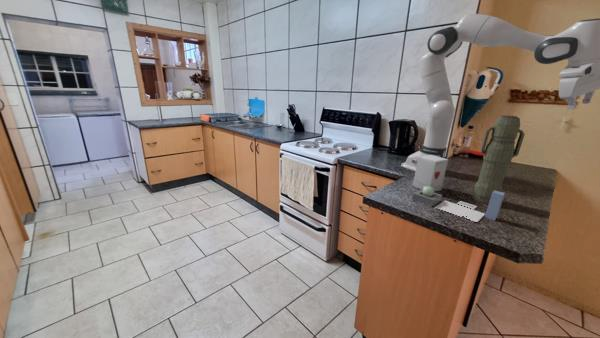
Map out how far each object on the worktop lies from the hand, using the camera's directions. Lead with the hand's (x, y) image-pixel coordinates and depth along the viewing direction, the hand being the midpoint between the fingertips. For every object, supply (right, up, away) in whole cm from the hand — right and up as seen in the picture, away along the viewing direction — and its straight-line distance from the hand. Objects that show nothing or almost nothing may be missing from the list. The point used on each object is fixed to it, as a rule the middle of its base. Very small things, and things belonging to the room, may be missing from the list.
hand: (579, 106), depth 92 cm
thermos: (-29, -38, +10) cm, 48 cm away
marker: (-37, -42, -4) cm, 56 cm away
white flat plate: (-46, -40, 0) cm, 61 cm away
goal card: (-40, -39, +5) cm, 56 cm away
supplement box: (-47, -33, +21) cm, 62 cm away
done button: (-55, -35, +7) cm, 65 cm away
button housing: (-55, -37, +8) cm, 67 cm away
